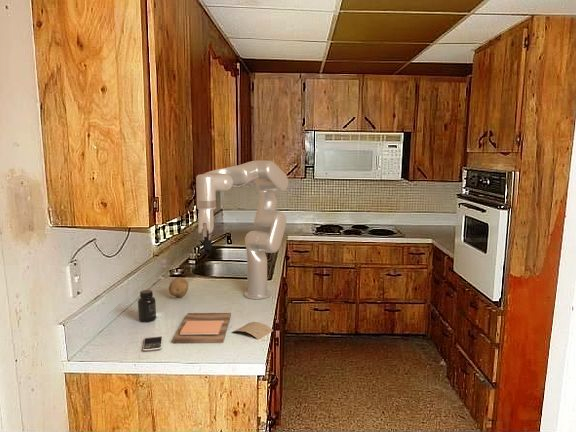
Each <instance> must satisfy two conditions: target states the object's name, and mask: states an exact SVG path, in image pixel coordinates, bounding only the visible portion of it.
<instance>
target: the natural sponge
mask: <svg viewBox="0 0 576 432" xmlns="http://www.w3.org/2000/svg"><path fill="white" fill-rule="evenodd" d="M188 290H189V283H188V281H187V280H186V279H185V278H183V277H176V278H174V279H173V280H171V282H170V283H169V286H168V292H169V294H170V295H171V296H174V297H175V298H177V299H182V298H184V297H185V295H186V294H187V292H188Z"/></svg>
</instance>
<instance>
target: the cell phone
mask: <svg viewBox="0 0 576 432" xmlns="http://www.w3.org/2000/svg"><path fill="white" fill-rule="evenodd" d="M162 344H163V336H150V337H144V342H143V346H142V351H143V353H151V352H157V351H158V352H159V351H161V350H162Z"/></svg>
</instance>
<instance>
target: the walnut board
mask: <svg viewBox="0 0 576 432" xmlns="http://www.w3.org/2000/svg"><path fill="white" fill-rule="evenodd" d="M231 318H232V313H231V312H188V313H187V314H186V315H185V318H184V320H183V321H182V324H181V325H180V327H179V328H178V330H177V332H176V333H175V336H174V337H173V340H172V343H173V344H224V342H225V338H226V334H227V331H228V328H229V325H230V321H231ZM187 321H223V324H222V327H221V329H220V332H219V334H180V331H181V330H182V328H183V327H184V325H185V324H186V322H187Z"/></svg>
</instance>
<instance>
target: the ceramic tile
mask: <svg viewBox="0 0 576 432" xmlns="http://www.w3.org/2000/svg"><path fill="white" fill-rule="evenodd" d="M222 324H223V321H187V322H186V324H185V325H184V327H183V328H182V330H181V331H180V334H219V332H220V329H221V327H222Z"/></svg>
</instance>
